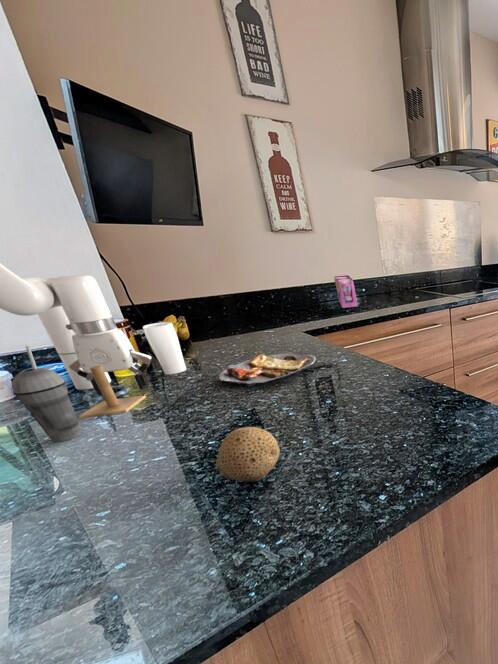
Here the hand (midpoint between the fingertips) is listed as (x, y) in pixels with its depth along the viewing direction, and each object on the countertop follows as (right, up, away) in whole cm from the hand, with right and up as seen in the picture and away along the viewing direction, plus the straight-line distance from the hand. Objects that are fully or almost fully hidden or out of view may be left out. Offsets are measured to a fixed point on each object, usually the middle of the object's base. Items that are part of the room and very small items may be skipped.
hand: (124, 389), depth 105 cm
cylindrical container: (-14, +1, +6) cm, 16 cm away
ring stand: (+6, -5, -8) cm, 11 cm away
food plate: (+32, +5, +12) cm, 34 cm away
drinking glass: (+2, +5, +14) cm, 15 cm away
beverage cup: (+8, -10, -20) cm, 24 cm away
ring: (-4, -1, -1) cm, 4 cm away
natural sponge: (+60, -16, -37) cm, 72 cm away
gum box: (+15, +45, +108) cm, 118 cm away
